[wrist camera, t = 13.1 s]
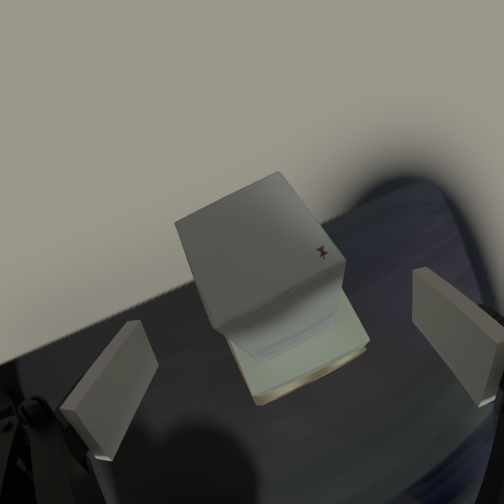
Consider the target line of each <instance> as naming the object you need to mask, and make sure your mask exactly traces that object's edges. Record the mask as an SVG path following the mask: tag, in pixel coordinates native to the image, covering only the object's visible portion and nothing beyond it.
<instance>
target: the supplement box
mask: <svg viewBox="0 0 504 504" xmlns="http://www.w3.org/2000/svg"><path fill="white" fill-rule="evenodd" d="M175 226H176V229H177V231H178V234H179V237H180V240H181V243H182V246H183V249H184V251H185V254H186V257H187V260H188V263H189V266H190V269H191V272H192V274H193V277H194V280H195V283H196V286H197V288H198V291H199V294H200V297H201V299H202V302H203V305H204V307H205V310H206V312H207V315H208V318H209V320H210V323H211V326H212V328H214V329H215V330H216V331H218V332H220V333H221V334H223V335H224V336H225V337H227V338H228V339H229V340H231V341H232V342H233V343H234V344H236V345H237V346H238V347H239V348H241V349H242V350H243V351H245V352H246V353H247V354H248V355H250V356H251V357H252V358H254V359H256V360H257V361H258V362H260V363H261V364H262V363H265V362H267V361H269V360H271V359H273V358H275V357H277V356H279V355H281V354H283V353H285V352H287V351H289V350H291V349H293V348H295V347H297V346H299V345H301V344H303V343H304V342H306V341H308V340H310V339H312V338H314V337H315V336H317V335H319V334H321V333H323V332H324V331H326V330H328V329H330V328H332V327H333V326H334V322H335V318H336V313H337V308H338V303H339V298H340V293H341V287H342V282H343V276H344V271H345V265H346V259H345V258H344V256H343V255H342V254H341V252H340V251H339V250H338V248H337V247H336V246H335V244H334V243H333V241H332V240H331V239H330V237H329V236H328V235H327V233H326V232H325V231H324V229H323V228H322V227H321V225H320V224H319V223H318V221H317V220H316V219H315V218H314V216H313V215H312V214H311V212H310V211H309V209H308V208H307V207H306V206H305V204H304V203H303V201H302V200H301V199H300V197H299V196H298V195H297V194H296V192H295V191H294V190H293V188H292V187H291V186H290V184H289V183H288V182H287V180H286V179H285V178H284V177H283V175H282V174H281V173H280V172H276V173H274V174H272V175H269V176H267V177H265V178H263V179H261V180H259V181H257V182H255V183H253V184H251V185H249V186H247V187H244V188H242V189H240V190H238V191H236V192H234V193H232V194H230V195H228V196H226V197H224V198H222V199H220V200H218V201H216V202H214V203H212V204H210V205H208V206H206V207H204V208H202V209H200V210H198V211H196V212H194V213H192V214H190V215H188V216H186V217H184V218H182V219H180V220H179V221H177V222H175Z"/></svg>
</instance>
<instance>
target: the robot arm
mask: <svg viewBox="0 0 504 504" xmlns="http://www.w3.org/2000/svg"><path fill="white" fill-rule="evenodd" d="M412 272H413V313H412V321H413V323H414V324H415V325H416V326H417V327H418V329H419V330H420V331H421V332H422V334H423V335H424V336H425V337H426V338H427V340H428V341H429V342H430V343H431V345H432V346H433V347H434V348H435V350H436V351H437V352H438V354H439V355H440V356H441V357H442V359H443V360H444V361H445V363H446V364H447V365H448V366H449V368H450V369H451V370H452V372H453V373H454V374H455V376H456V377H457V378H458V380H459V381H460V382H461V384H462V385H463V386H464V388H465V389H466V390H467V392H468V393H469V395H470V396H471V397H472V399H473V400H474V402H475V403H476V404H477V406H478V407H481V406H483V405H485V404H487V403H489V402H490V401H492V400H494V399H495V397H496V394H497V391H498V388H499V387H500V388H501V390H502V391H503V392H504V317H502V316H501V315H499V313H497V312H496V311H495V310H493V309H492V308H490V307H488V306H485V305H483V304H480V305H476V304H475V303H474V302H472V301H471V300H470V299H469V298H467V297H466V296H465V295H463V294H462V293H461V292H459V291H458V290H457V289H456V288H454V287H453V286H452V285H450V284H449V283H448V282H446V281H445V280H444V279H442V278H441V277H440V276H438V275H437V274H435V273H434V272H433V271H431V270H430V269H429V268H427V267H423V268H419V269H415V270H412ZM158 366H159V364H158V362H157V360H156V358H155V355H154V353H153V350H152V348H151V346H150V343H149V341H148V338H147V336H146V333H145V331H144V328H143V326H142V323H141V321H140V320H136V321H127V323H126V324H125V325H124V326H123V327H122V329H121V330H120V331H119V332H118V334H117V335H116V336H115V337H114V339H113V340H112V341H111V342H110V344H109V345H108V346H107V347H106V349H105V350H104V351H103V352H102V354H101V355H100V356H99V357H98V359H97V360H96V361H95V362H94V364H93V365H92V366H91V368H90V369H89V370H88V371H87V373H86V374H84V375H83V376H82V377H81V378H79V379H78V380H77V381H76V383H75V384H74V385H73V388H71V389H70V391H69V392H68V394H67V395H66V396H65V397H64V398H63V400H62V401H61V402H60V404H59V405H58V406H57V408H56V409H55V410H54V412H53V411H52V409H51V408H50V406H49V405H48V403H47V401H46V400H45V398H44V397H43V396H41V395H34V396H31V397H29V398H27V399H25V400H24V401H23V402H22V403H21V402H20V400H19V399H18V398H17V396H16V395H15V394H14V393H12V392H11V391H9V390H5V389H2V388H0V504H106V501H105V499H104V497H103V494H102V492H101V489H100V486H99V484H98V481H97V479H96V476H95V473H94V470H93V467H92V464H91V461H90V460H89V458H88V457H87V456H86V454H87V452H88V450H90V451H91V452H92V453H93V455H94V456H95V457H96V458H97V459H102V460H108V461H113V458H114V456H115V454H116V452H117V450H118V448H119V446H120V443H121V441H122V439H123V437H124V435H125V433H126V431H127V429H128V427H129V425H130V422H131V420H132V418H133V416H134V414H135V412H136V410H137V408H138V406H139V404H140V402H141V400H142V398H143V396H144V394H145V392H146V390H147V388H148V386H149V384H150V382H151V380H152V378H153V376H154V374H155V372H156V370H157V368H158ZM499 411H500V412H499ZM496 414H499V418H498V423H497V428H496V433H495V438H494V442H493V446H492V450H491V454H490V458H489V462H488V465H487V469H486V472H485V475H484V479H483V482H482V485H481V488H480V491H479V494H478V496H477V499H476V502H475V504H504V395H503V397H502V400H501V403H500V405H499V407H498V410H497V412H496ZM22 470H23V471H22Z"/></svg>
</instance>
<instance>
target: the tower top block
mask: <svg viewBox="0 0 504 504" xmlns="http://www.w3.org/2000/svg"><path fill="white" fill-rule="evenodd" d="M369 340H370V339H369V337H368V335H367V333H366V331H365V330H364V328H363V326H362V324H361V322H360V320H359V319H358V317H357V315H356V313H355V311H354V309H353V308H352V306H351V304H350V302H349V300H348V299H347V297H346V295H345V293H344V292H343V290H342V288H341V293H340V298H339V303H338V308H337V313H336V318H335V322H334V326H333V327H332V328H330V329H328V330H326V331H324V332H323V333H321V334H319V335H317V336H315V337H314V338H312V339H310V340H308V341H306V342H304V343H303V344H301V345H299V346H297V347H295V348H293V349H291V350H289V351H287V352H285V353H283V354H281V355H279V356H277V357H275V358H273V359H271V360H269V361H267V362H265V363H262V364H261V363H260V362H258V361H257V360H256V359H254V358H252V357H251V356H250V355H248V354H247V353H246V352H245V351H243V350H242V349H241V348H239V347H238V346H237V345H236V344H234V343H233V342H232V341H231V340H230V341H231V344H232V346H233V349H234V351H235V354H236V356H237V359H238V361H239V364H240V366H241V369H242V371H243V374H244V376H245V378H246V381H247V383H248V386H249V388H250V390H251V393H252V395H253V396H262V395H265V394H267V393H270V392H272V391H274V390H277V389H279V388H282V387H284V386H286V385H288V384H291V383H293V382H295V381H297V380H300V379H302V378H304V377H306V376H308V375H311V374H313V373H315V372H317V371H319V370H321V369H323V368H325V367H327V366H329V365H331V364H333V363H335V362H337V361H339V360H341V359H343V358H345V357H347V356H349V355H351V354H353V353H354V352H356V351H358V350H360V349H362V348H363V347H364V346H365V345H366V344H367V343H368V342H369Z"/></svg>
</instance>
